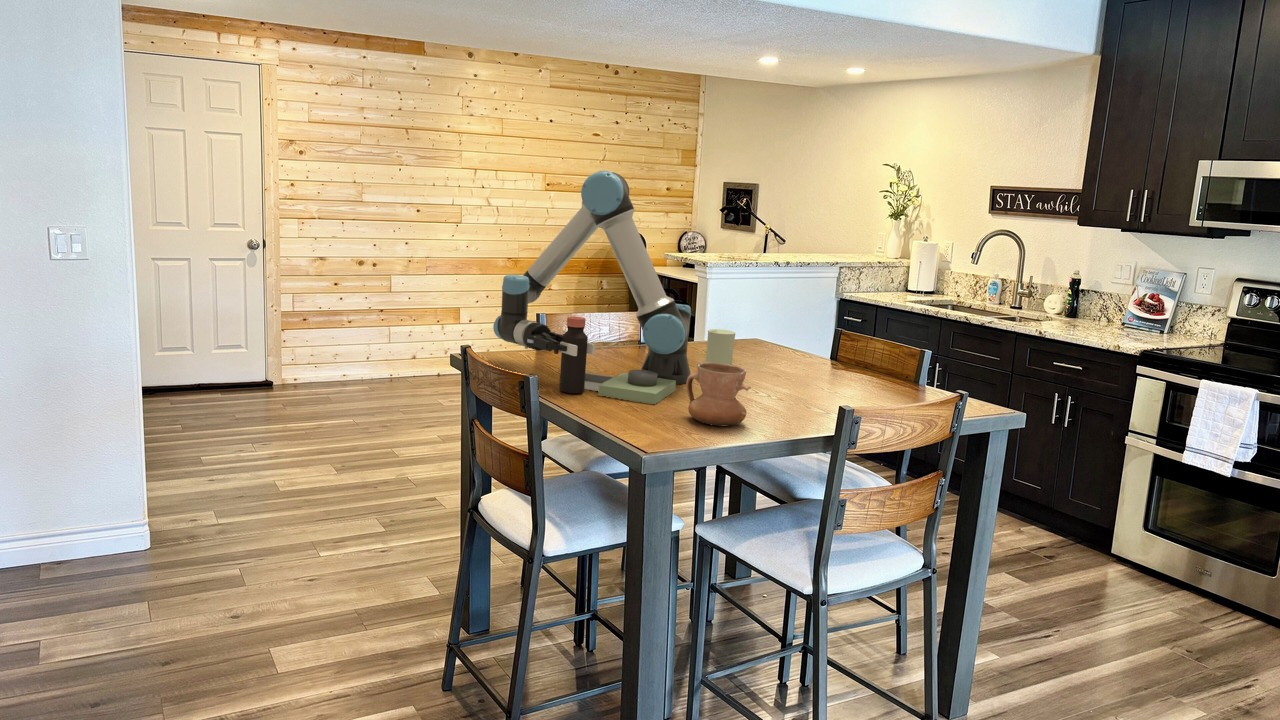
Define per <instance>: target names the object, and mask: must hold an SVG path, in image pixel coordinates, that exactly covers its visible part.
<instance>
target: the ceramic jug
mask: <svg viewBox="0 0 1280 720" xmlns="http://www.w3.org/2000/svg"><path fill="white" fill-rule="evenodd" d="M696 370H697V373H696V372H695V373H691V375H689V377H688V379H687V382H686V383H685V385H686V386H685V388H686V393H687V396H688V400H689V405H688V413H689V415H690V416H691V417H692V418H693V419H694V420H696V421H697V422H700V423H702V424H704V423H706V424H705V425H708V424H712V425H711V426H713V425H731V426H735V425H738V424H740V423H742V422H743V421H744V420H745V418H746V417H747V409H746V407H745V405H743V404H742V403H741V402H740V401H739V400H738V399H737V398H736V396H737V394H738V392H739V391H742V390H745V391H746V392H748V391H749V390H750V389H752V386H750V384H748V383H744V381H745V378H746V376H747V369H745V368H744V367H742V366H738V365H733V364H732V365H725V364H718V363H705V362H700V363H698V364H697V369H696ZM694 380H695V381H697V382H698V383H699V387H700V391H701V392H702V393H701V394H700V396H698V397H694V392H693V381H694Z"/></svg>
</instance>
